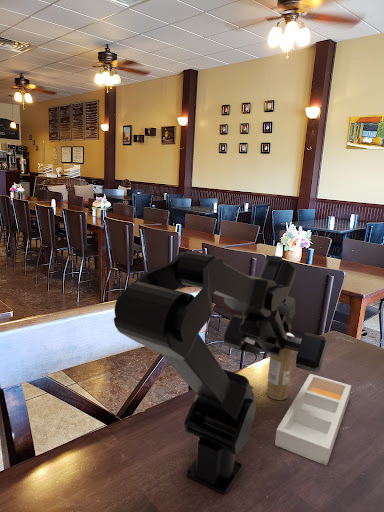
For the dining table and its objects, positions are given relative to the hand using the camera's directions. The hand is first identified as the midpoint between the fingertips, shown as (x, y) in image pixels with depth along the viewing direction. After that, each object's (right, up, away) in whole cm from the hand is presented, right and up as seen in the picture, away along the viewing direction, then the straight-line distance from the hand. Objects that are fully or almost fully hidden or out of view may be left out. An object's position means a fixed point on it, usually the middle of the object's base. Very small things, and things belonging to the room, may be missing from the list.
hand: (280, 358), depth 80 cm
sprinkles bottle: (0, -8, +2) cm, 9 cm away
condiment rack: (+6, -10, -6) cm, 13 cm away
